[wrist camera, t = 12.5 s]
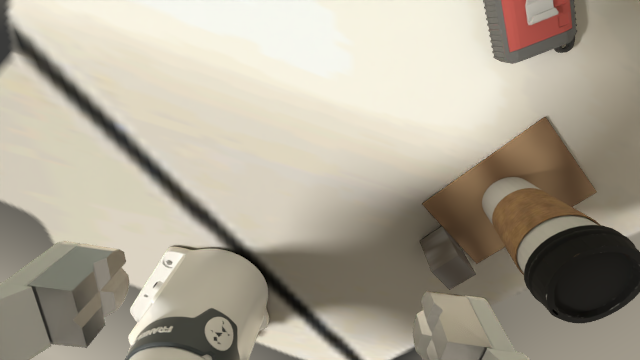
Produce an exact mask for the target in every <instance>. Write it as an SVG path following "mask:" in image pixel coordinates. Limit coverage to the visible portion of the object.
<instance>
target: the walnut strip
mask: <svg viewBox="0 0 640 360" xmlns="http://www.w3.org/2000/svg"><path fill="white" fill-rule="evenodd" d="M507 177H518V178H522V179H524V180H526V181H528V182H529V183H531V184H533V185H534V186H536V187H538V188H539V189H541V190H543V191H544V192H546V193H548V194H550V195H552V196H553V197H555V198H557V199H559V200H560V201H562V202H564V203H566V204H567V205H569V206H571V207H573V206H574V205H576V204H578V203H580V202H581V201H583V200H585V199H586V198H588V197H590V196H591V195H593V194H595V193H596V190H595V189H594V187H593V186H592V184H591V183H590V181H589V180H588V178H587V177H586V175H585V174H584V173H583V171H582V170H581V168H580V167H579V165H578V164H577V162H576V161H575V159H574V158H573V156H572V155H571V153H570V152H569V151H568V149H567V148H566V146H565V145H564V143H563V142H562V140H561V139H560V137H559V136H558V134H557V133H556V132H555V130H554V129H553V127H552V126H551V124H550V123H549V121H548V120H547V118H546V117H544V118H542V119H541V120H540V121H538V122H537V123H535V124H534V125H533V126H531V127H530V128H528V129H527V130H525V131H524V132H523V133H521V134H520V135H518V136H517V137H516V138H514V139H513V140H511V141H510V142H508V143H507V144H506V145H504V146H503V147H501V148H500V149H499V150H497V151H496V152H494V153H493V154H492V155H490V156H489V157H487V158H486V159H484V160H483V161H482V162H480V163H479V164H477V165H476V166H475V167H473V168H472V169H470V170H469V171H467V172H466V173H465V174H463V175H462V176H460V177H459V178H458V179H456V180H455V181H453V182H452V183H451V184H449V185H448V186H446V187H445V188H443V189H442V190H441V191H439V192H438V193H436V194H435V195H434V196H432V197H431V198H429V199H428V200H427V201H425V202H424V203H422V204H423V206H424V207H425V208H426V209H427V210H428V211H429V212H430V213H431V214H432V216H433V217H434V218H435V219H436V220H437V221H438V222H439V223H440V224H441V225H442V226H441V227H440V228H438V229H437V230H435V231H434V232H432V233H431V234H429V235H428V236H426V237H425V238H423V239H422V240H420V243H421V246H422V248H423V251H424V253H425V256H426V258H427V261H428V264H429V266H430V269H431V271H432V273H433V274H434V275H435V276H436V277H437V278H438V279H439V280H440V281H441V282H442V283H443V284H444V285H445V286H446V287H447V288H448V289H449V290H450V289H452V288H453V287H455V286H457V285H459V284H460V283H462V282H464V281H465V280H467V279H469V278H470V277H472V276H474V275H476V274H475V272H474V270H473V268H472V267H471V265H470V263H469V261H468V260H467V258H466V256H465V254H464V253H463V251H462V249H461V247H462V248H463V249H464V250H465V252H466V253H467V254H468V255H469V256H470V257H471V258H472V259H473V260H474V261H475V262H476V264H477V263H479V262H480V261H482V260H484V259H486V258H487V257H489V256H491V255H492V254H494V253H496V252H497V251H499V250H501V249H502V248H504V247H505V245H504V244H503V242H502V240H501V239H500V237H499V235H498V234H497V232H496V230H495V228H494V226H493V225H492V223H491V221H490V220H489V218H488V217H487V215H486V214H485V212H484V210H483V207H482V198H483V195H484V193H485V192H486V190H487V189H488V188H489V187H490V186H491V185H492V184H493V183H495V182H496V181H498V180H500V179H503V178H507ZM459 245H460V246H461V247H460V246H459Z"/></svg>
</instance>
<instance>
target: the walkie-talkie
mask: <svg viewBox="0 0 640 360" xmlns="http://www.w3.org/2000/svg"><path fill="white" fill-rule="evenodd" d="M483 3H485V7H484V9H486V12H485V14H487V18H486V20H488V24H487V25H488V26H489V30H488V31H490V35H489V36H490V37H491V43H492V46H491V47H492V48H493V53H494V58H495V59H497V60H499V61H501V62H507V63H512V64H513V63H517V62H520V61H523V60H525V59H528V58H531V57H533V56H536V55H538V54H541V53H544V52H546V51H549V50H552V49H555V51H556V52H558V53H559V52H560V53H563V52H568V51H569V50H571V49H572V47H573V45H574V41H575V34H576V32H577V30H576V26H577V24H576V22H575V20H576V18H575V14H576V13H575V11H574V8H575V5H574V0H484V1H483ZM565 44H566V46H565V47H564V48H562V47H561V46H562V45H565Z"/></svg>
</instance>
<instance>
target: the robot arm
mask: <svg viewBox="0 0 640 360" xmlns="http://www.w3.org/2000/svg"><path fill="white" fill-rule="evenodd" d="M170 260H171V261H170ZM125 263H126V259H125V254H124V252H123V251H121V250H119V249H114V248H107V247H101V246H95V245H89V244H80V243H74V242H67V241H63V242H59V243H56V244H55V245H54V246H52V247H51V248H49V249H48V250H47V251H46V252H44V253H43V254H42V255H40V256H39V257H38V258H36V259H35V260H33V261H32V262H31V263H29V264H28V265H26V266H25V267H24V268H22V269H21V270H19V271H18V272H17V273H15V274H14V275H13V276H11V277H10V278H9V279H7V280H6V281H4V282H3V283H0V360H30V359H31V358H33V357H35V356H36V355H38V354H39V353H41V352H43V351H44V350H46V349H47V348H49V347H50V346H51V344H55V345H65V346H75V347H85V348H87V347H88V346H89V345H90V343H91V342H92V341H93V340H94V338H95V337H96V336H97V334H98V333H99V332H100V331H101V330H102V329H103V327H104V326H105V317H106V316H108V315H110V314H112V313H114V312H115V311H117V310H118V309H119V307H120V306H121V305H122V303H123V302H124V300H125V297H126V295H127V293H128V289H129V276H128V274H127V273H126V272H125V271H124V270H123V269H122V266H123V265H124V264H125ZM267 300H268V286H267V283H266V281H265V278H264V277H263V275H262V274H261V272H260V271H259V270H258V269H257V268H256V267H255V266H254V265H253V264H252V263H251V262H250V261H248V260H247V259H245V258H243V257H242V256H240V255H237V254H235V253H233V252H229V251H226V250H221V249H199V250H189V249H185V248H181V247H169V248H168V249H167V250H166V252H165V254H164V255H163V257H162V258H161V260H160V262H159V263H158V265H157V266H156V268H155V270H154V271H153V273H152V274H151V276H150V278H149V279H148V281H147V282H146V284H145V286H144V287H143V289H142V290H141V292H140V294H139V295H138V297H137V298H136V300H135V302H134V304H133V305H132V307H131V309H130V312H131V314H132V315H133V317H134V319H135V320H136V321H137V322H138V323H137V324H136V326H135V328H134V329H133V330H132V332H131V333H130V335H129V343H130V345H131V347H130V349H129V351H128V353H127V356H126V358H125V360H249V357H250V354H251V352H252V349H253V346H254V344H255V341H256V338H257V335H258V333H259V331H261V330H263V329H265V328H266V327H267V325H268V323H269V315H268V312H267V309H266V305H267ZM421 304H422V307H423V310H422V311H420V312H419V313H417V314H416V318H415V321H414V328H413V338H414V345H415V349H416V352H417V353H418V354H419V355H420V356H421V357H422V358H423V360H530V359H529V358H528V357H526V356H525V355H524V354H523V353H519V352H516V351H515V349H514V348H513V346H512V344H511V342H510V341H509V339H508V337H507V335H506V333H505V331H504V330H503V328H502V326H501V325H500V323H499V321H498V319H497V317H496V315H495V314H494V312H493V310H492V308H491V307H490V305H489V303H488V301H487V300H486V299H484V298H483V297H474V296H465V295H464V296H462V295H455V294H447V293H439V292H431V291H426V292H425V293H424V295H423V297H422V300H421Z"/></svg>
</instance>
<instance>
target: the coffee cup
mask: <svg viewBox="0 0 640 360" xmlns="http://www.w3.org/2000/svg"><path fill="white" fill-rule="evenodd" d="M482 207H483V210H484V212H485V214H486V215H487V217H488V218H489V220H490V221H491V223H492V225H493V226H494V228H495V230H496V232H497V234H498V235H499V237H500V239H501V240H502V242H503V244H504V245H505V247H506V249H507V251H508V252H509V254H510V256H511V257H512V259H513V261H514V262H515V264H516V266H517V268H518V269H519V270H520V272H521V273H522V274H523V275H524V280H525V283H526V286H527V288H528V289H529V290H530V292H531V293H532V295H533V296H534V297H535V298H536V299H537V300H538V301H539V302H541V303H542V304H543V305H544V306H545V307H546V308H547V309H548V310H549V312H550V313H551V314H552V315H553V316H555V317H557V318H559V319H562V320H564V321H567V322H572V323H587V322H592V321H595V320H598V319H601V318H603V317H606V316H608V315H610V314H612V313H614V312H616V311H618V310H619V309H621V308H622V307H624V306H625V305H626V304H628V303H629V302H630V301H631V300H633V299H634V298H635V297H636V296H637V295H638V293H639V292H640V252H639V251H638V250H637V249H636V248H635V246H634V244H633V243H632V242H631V241H630V240H629V239H628V238H627V237H625V236H623V235H622V234H621V233H619V232H618V231H616V230H614V229H612V228H609V227H605V226H601V225H600V224H599V223H597V222H596V221H595V220H593V219H592V218H590V217H588V216H586V215H585V214H583V213H581V212H579V211H578V210H576V209H574V208H572V207H571V206H569V205H567V204H566V203H564V202H562V201H560V200H559V199H557V198H555V197H553V196H552V195H550V194H548V193H546V192H544V191H543V190H541V189H539V188H538V187H536V186H534V185H533V184H531V183H529V182H528V181H526V180H524V179H522V178H518V177H507V178H503V179H500V180H498V181H496V182H495V183H493V184H492V185H491V186H490V187H489V188H488V189H487V190H486V192H485V193H484V195H483V198H482Z"/></svg>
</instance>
